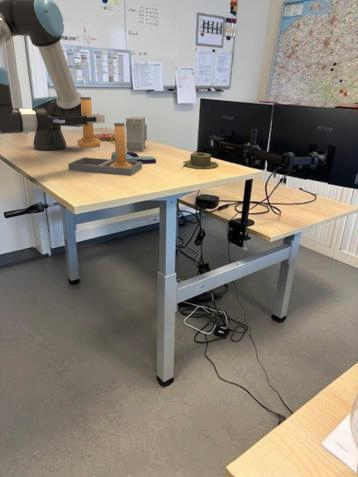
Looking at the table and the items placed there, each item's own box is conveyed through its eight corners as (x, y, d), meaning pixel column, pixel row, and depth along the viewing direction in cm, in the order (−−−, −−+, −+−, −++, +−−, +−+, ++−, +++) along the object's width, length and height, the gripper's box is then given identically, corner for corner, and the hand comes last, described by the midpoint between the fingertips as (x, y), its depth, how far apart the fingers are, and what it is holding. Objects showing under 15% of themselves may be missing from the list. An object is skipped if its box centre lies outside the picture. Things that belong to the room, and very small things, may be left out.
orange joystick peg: (73, 147, 127) (69, 97, 121) (84, 143, 135) (80, 96, 128) (94, 148, 126) (91, 98, 119) (103, 144, 133) (101, 97, 126)
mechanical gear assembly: (110, 136, 212) (86, 138, 205) (110, 129, 210) (85, 131, 203) (130, 144, 189) (103, 147, 182) (130, 136, 187) (102, 139, 180)
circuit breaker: (147, 146, 183) (147, 116, 177) (142, 152, 170) (141, 119, 164) (133, 146, 184) (132, 115, 177) (126, 151, 171) (125, 118, 164)
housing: (69, 173, 130) (68, 163, 129) (84, 166, 141) (83, 157, 139) (131, 178, 126) (130, 169, 124) (141, 171, 136) (141, 161, 135)
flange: (213, 151, 155) (179, 151, 152) (223, 158, 141) (186, 158, 139) (212, 161, 157) (179, 162, 154) (222, 170, 143) (186, 170, 141)
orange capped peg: (106, 171, 129) (104, 124, 122) (115, 166, 136) (113, 121, 129) (127, 173, 127) (126, 125, 120) (135, 168, 134) (134, 122, 127)
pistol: (159, 167, 145) (125, 170, 138) (143, 159, 157) (110, 161, 150) (159, 157, 144) (125, 159, 136) (143, 150, 156) (110, 152, 148)
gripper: (30, 128, 125) (94, 126, 137) (41, 135, 113) (111, 131, 124) (27, 106, 122) (93, 105, 134) (38, 110, 110) (110, 109, 121)
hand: (101, 118), depth 129 cm, fingers closed on orange joystick peg, 4 cm apart
